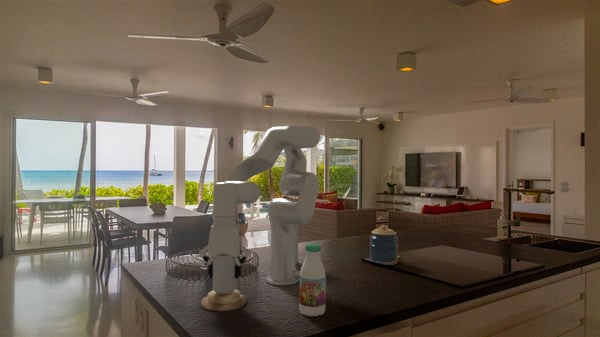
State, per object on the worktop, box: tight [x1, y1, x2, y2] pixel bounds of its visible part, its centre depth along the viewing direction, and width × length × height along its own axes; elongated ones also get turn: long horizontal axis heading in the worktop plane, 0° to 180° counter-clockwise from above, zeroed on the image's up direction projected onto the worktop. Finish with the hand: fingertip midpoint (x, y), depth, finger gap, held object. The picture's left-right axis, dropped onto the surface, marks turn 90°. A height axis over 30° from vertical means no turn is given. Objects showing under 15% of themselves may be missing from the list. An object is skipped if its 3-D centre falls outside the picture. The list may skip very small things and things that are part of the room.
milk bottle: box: [298, 243, 327, 317], centre depth 110 cm, size 8×8×20 cm
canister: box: [369, 224, 399, 262], centre depth 170 cm, size 13×13×18 cm
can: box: [212, 255, 238, 294], centre depth 117 cm, size 8×8×12 cm
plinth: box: [200, 288, 247, 312], centre depth 117 cm, size 14×14×3 cm
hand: (224, 276), depth 117 cm, fingers closed on can, 7 cm apart
